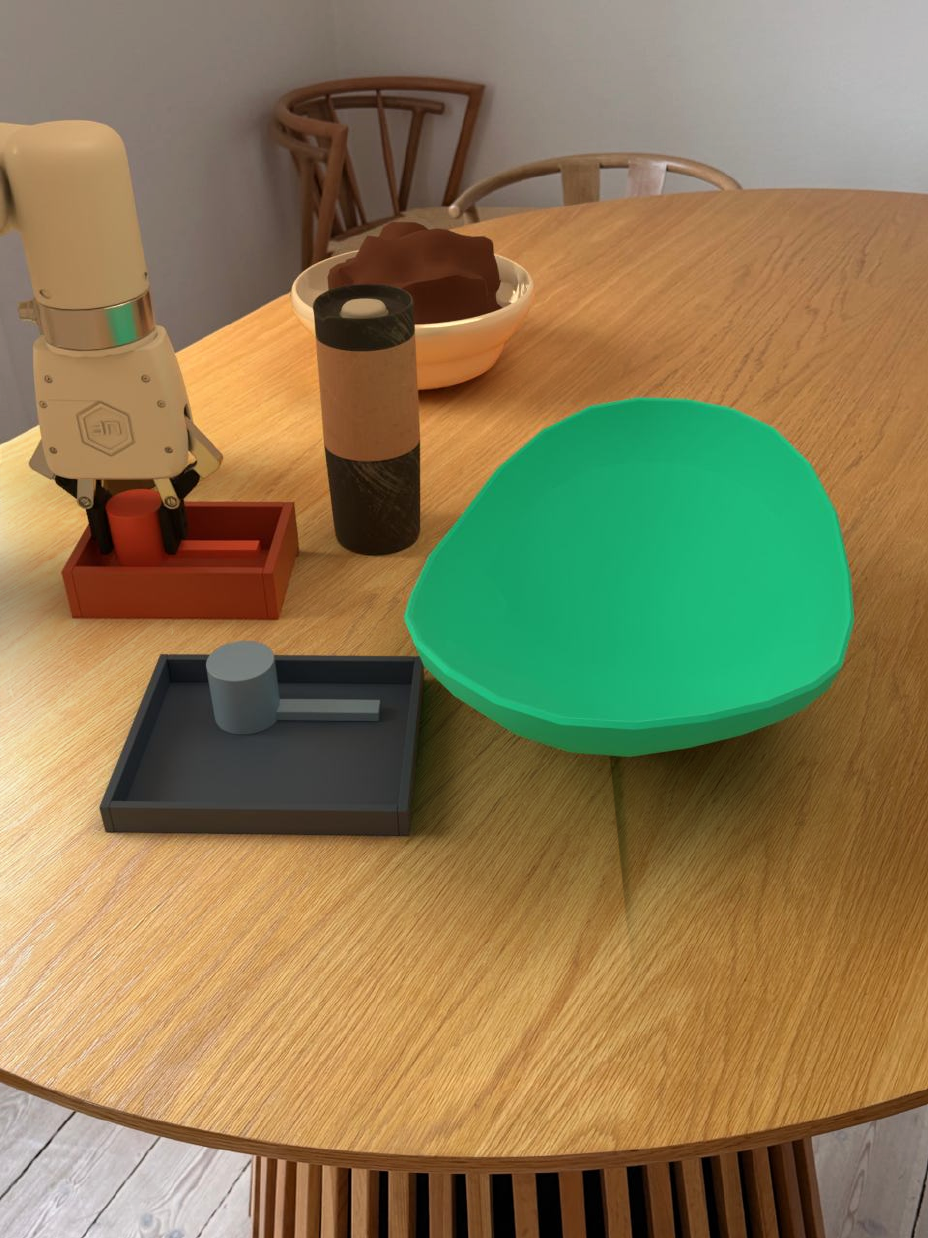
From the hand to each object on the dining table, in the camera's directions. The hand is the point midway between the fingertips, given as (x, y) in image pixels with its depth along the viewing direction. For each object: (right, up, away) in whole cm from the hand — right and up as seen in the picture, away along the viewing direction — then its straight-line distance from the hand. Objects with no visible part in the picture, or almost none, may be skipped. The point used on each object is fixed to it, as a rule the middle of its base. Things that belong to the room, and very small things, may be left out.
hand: (142, 543), depth 93 cm
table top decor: (+36, -11, -10) cm, 39 cm away
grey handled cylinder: (+14, -12, -12) cm, 22 cm away
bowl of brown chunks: (+20, +21, +36) cm, 46 cm away
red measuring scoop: (+3, -1, +1) cm, 3 cm away
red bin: (+3, -3, +2) cm, 5 cm away
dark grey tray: (+13, -15, -15) cm, 24 cm away
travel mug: (+18, +1, +8) cm, 19 cm away
